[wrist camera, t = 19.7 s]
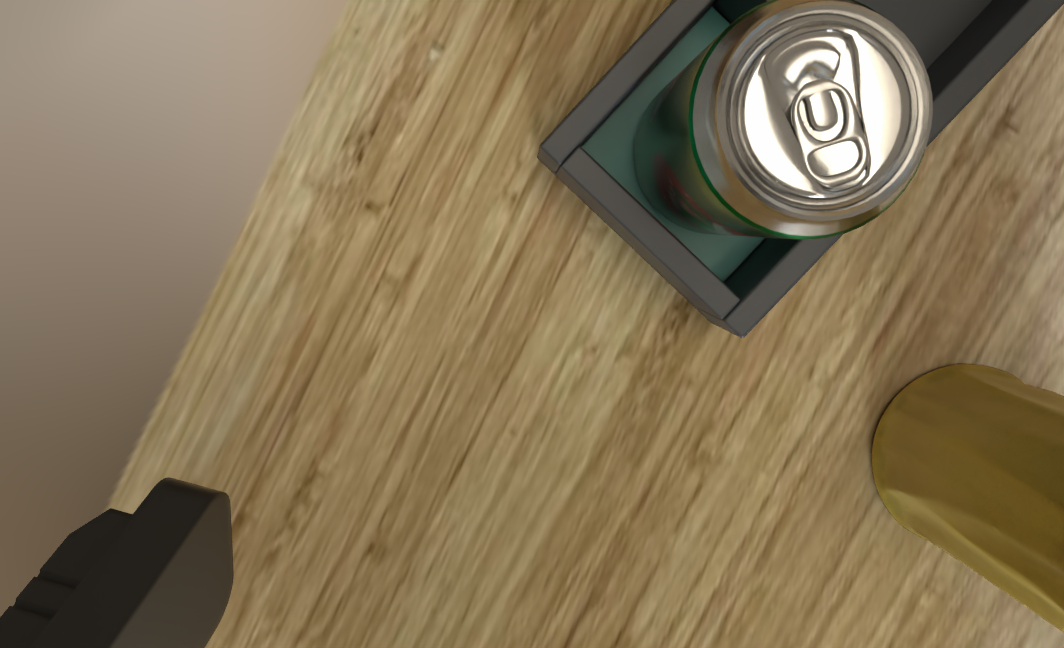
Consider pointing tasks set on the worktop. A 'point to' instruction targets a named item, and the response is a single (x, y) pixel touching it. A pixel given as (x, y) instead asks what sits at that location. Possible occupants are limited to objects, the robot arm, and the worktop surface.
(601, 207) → the holder
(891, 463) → the vase
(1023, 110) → the worktop surface
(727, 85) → the soda can
